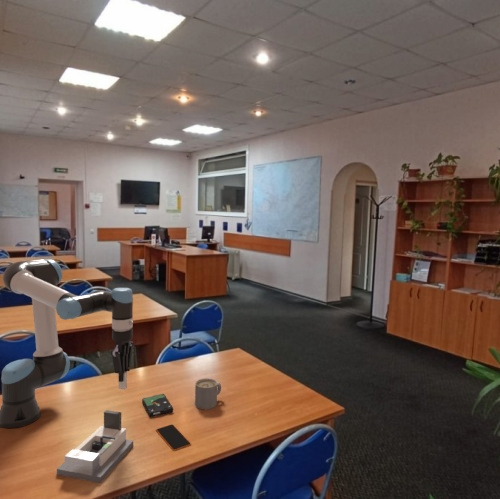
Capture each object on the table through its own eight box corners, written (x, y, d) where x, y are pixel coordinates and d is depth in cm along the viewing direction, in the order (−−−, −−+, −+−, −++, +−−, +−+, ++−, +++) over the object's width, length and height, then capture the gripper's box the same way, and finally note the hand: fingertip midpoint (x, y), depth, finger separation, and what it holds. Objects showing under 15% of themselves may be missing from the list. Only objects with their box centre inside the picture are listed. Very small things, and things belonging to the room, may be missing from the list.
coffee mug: (201, 411, 173) (201, 389, 172) (191, 402, 182) (191, 381, 181) (227, 404, 181) (227, 383, 180) (216, 395, 189) (217, 375, 188)
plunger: (95, 445, 142) (95, 419, 141) (106, 435, 149) (106, 410, 148) (110, 448, 141) (110, 422, 140) (121, 437, 147) (121, 412, 146)
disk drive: (173, 413, 172) (163, 398, 185) (173, 407, 171) (163, 393, 184) (149, 419, 167) (141, 403, 180) (150, 412, 166) (141, 397, 179)
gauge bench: (56, 474, 129) (56, 456, 129) (94, 439, 150) (94, 423, 149) (100, 483, 126) (100, 464, 126) (133, 445, 147) (133, 429, 146)
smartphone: (173, 452, 144) (173, 450, 144) (155, 431, 157) (155, 429, 157) (191, 445, 149) (191, 443, 148) (172, 425, 162) (172, 423, 162)
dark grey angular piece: (92, 448, 140) (92, 435, 140) (95, 446, 142) (95, 432, 141) (113, 452, 138) (113, 438, 138) (116, 449, 140) (116, 436, 139)
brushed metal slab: (64, 470, 129) (64, 456, 128) (72, 462, 133) (72, 448, 132) (92, 475, 127) (92, 461, 126) (99, 467, 130) (99, 453, 130)
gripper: (122, 334, 143) (122, 397, 145) (139, 324, 156) (139, 382, 158) (103, 332, 144) (104, 394, 147) (122, 323, 157) (122, 380, 159)
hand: (122, 388), depth 152 cm, fingers closed
